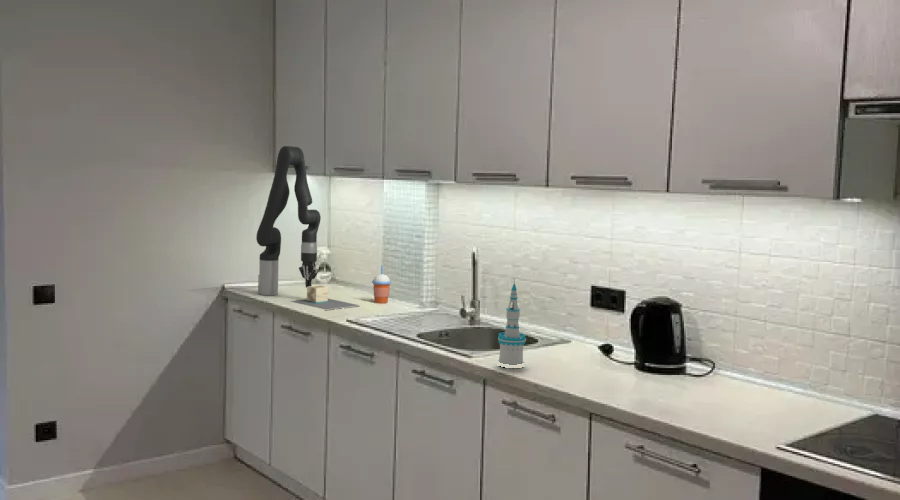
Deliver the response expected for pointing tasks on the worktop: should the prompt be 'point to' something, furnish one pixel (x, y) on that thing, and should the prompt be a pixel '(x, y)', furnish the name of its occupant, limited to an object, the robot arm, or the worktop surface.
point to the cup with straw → (381, 287)
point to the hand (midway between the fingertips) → (308, 287)
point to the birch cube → (317, 294)
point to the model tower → (512, 335)
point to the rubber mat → (327, 304)
